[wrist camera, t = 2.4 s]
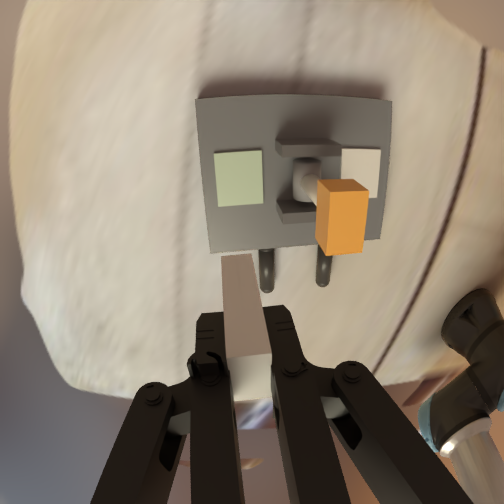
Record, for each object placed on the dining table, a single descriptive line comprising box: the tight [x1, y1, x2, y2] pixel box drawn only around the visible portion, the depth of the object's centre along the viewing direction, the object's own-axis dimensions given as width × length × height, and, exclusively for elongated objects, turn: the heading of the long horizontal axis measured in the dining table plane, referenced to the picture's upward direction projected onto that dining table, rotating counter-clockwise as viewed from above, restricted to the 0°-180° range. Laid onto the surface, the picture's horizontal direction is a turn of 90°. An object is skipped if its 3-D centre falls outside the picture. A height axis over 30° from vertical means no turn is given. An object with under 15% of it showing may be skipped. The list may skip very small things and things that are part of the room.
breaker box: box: [195, 94, 392, 293], centre depth 35 cm, size 22×26×7 cm
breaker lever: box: [293, 158, 369, 256], centre depth 27 cm, size 3×5×13 cm, turn 3°
